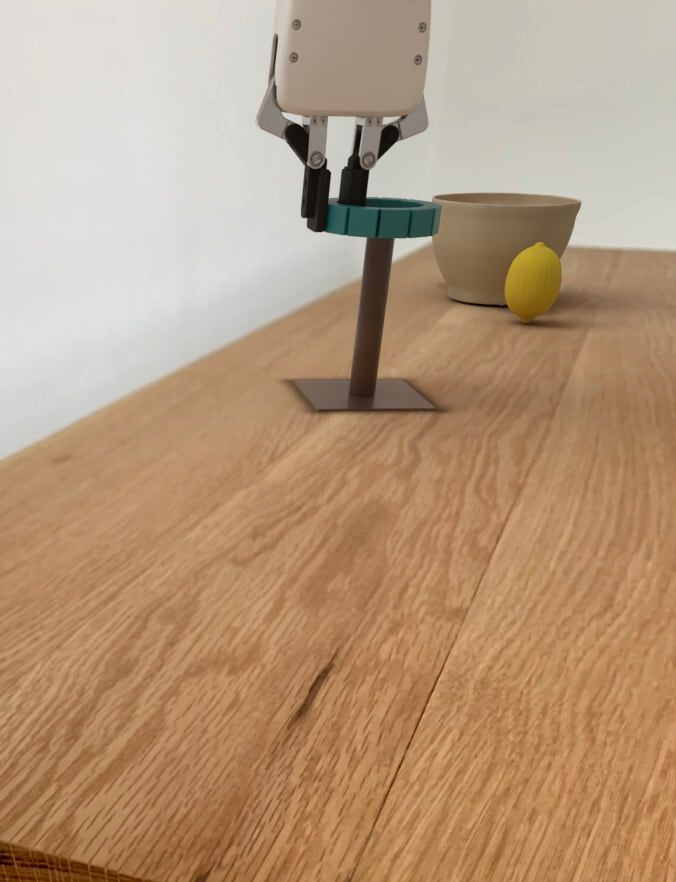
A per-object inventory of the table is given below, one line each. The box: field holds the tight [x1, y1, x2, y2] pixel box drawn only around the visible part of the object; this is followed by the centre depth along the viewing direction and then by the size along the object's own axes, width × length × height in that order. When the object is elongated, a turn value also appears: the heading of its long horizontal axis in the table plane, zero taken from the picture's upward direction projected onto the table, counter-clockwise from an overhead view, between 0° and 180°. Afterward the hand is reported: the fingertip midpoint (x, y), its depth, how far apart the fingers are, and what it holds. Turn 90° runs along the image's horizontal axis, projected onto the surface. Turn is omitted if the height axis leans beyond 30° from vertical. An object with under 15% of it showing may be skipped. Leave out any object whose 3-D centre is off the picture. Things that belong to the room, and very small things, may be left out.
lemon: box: [505, 242, 563, 324], centre depth 116 cm, size 6×6×8 cm
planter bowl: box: [431, 191, 583, 307], centre depth 127 cm, size 16×16×11 cm
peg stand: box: [292, 237, 437, 413], centre depth 83 cm, size 9×9×14 cm
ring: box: [322, 196, 442, 239], centre depth 79 cm, size 8×8×2 cm
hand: (330, 228), depth 79 cm, fingers closed on ring, 1 cm apart
